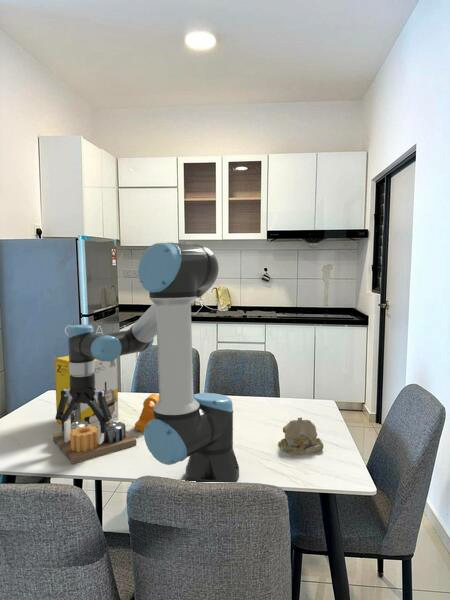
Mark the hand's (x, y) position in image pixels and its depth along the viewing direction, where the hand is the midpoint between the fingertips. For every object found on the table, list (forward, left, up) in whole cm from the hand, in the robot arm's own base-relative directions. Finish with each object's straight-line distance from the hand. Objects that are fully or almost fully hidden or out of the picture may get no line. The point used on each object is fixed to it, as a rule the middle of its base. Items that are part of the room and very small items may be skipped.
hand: (84, 441), depth 128 cm
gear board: (+5, -5, -3) cm, 8 cm away
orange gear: (0, 0, -1) cm, 1 cm away
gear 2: (0, -9, -1) cm, 9 cm away
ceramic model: (-40, -57, -4) cm, 70 cm away
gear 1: (+9, 0, -1) cm, 10 cm away
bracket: (+4, -26, -4) cm, 26 cm away
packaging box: (+26, -10, -4) cm, 28 cm away
